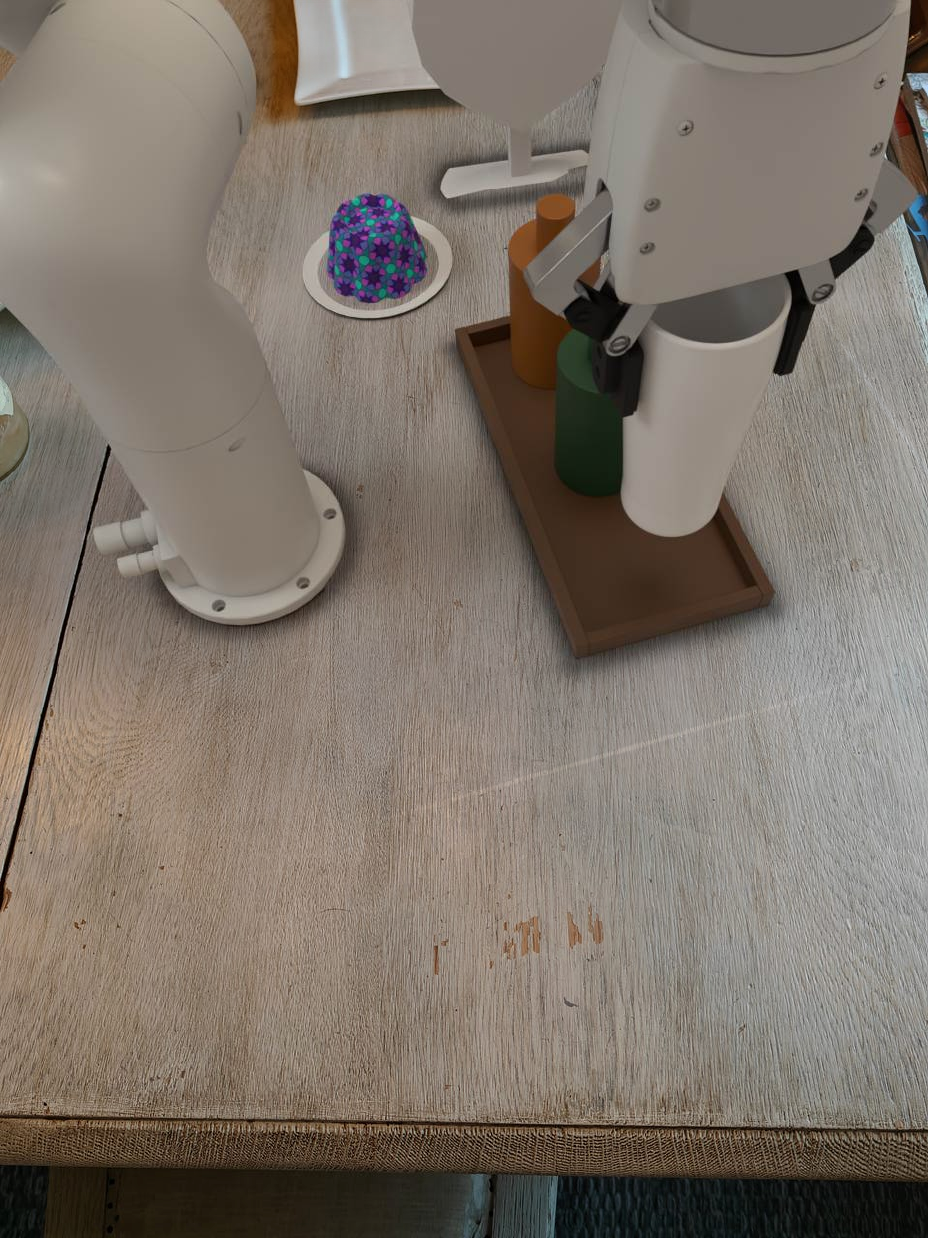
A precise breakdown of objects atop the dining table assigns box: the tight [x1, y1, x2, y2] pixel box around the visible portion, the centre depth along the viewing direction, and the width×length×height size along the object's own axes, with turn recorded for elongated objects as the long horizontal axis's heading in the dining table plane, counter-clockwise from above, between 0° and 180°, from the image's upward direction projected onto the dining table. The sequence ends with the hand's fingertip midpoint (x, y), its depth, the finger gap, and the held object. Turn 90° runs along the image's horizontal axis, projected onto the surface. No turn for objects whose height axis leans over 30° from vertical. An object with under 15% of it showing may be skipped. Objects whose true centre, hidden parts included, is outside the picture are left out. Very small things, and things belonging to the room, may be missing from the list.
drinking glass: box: [621, 273, 792, 537], centre depth 46 cm, size 7×7×15 cm
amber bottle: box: [507, 193, 602, 389], centre depth 64 cm, size 6×6×13 cm
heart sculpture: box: [406, 0, 624, 200], centre depth 73 cm, size 16×5×18 cm, turn 97°
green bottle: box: [554, 303, 623, 497], centre depth 60 cm, size 6×6×13 cm
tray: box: [454, 300, 776, 660], centre depth 65 cm, size 13×28×2 cm, turn 16°
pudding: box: [302, 193, 454, 319], centre depth 74 cm, size 12×12×5 cm
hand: (694, 371), depth 44 cm, fingers closed on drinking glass, 6 cm apart
